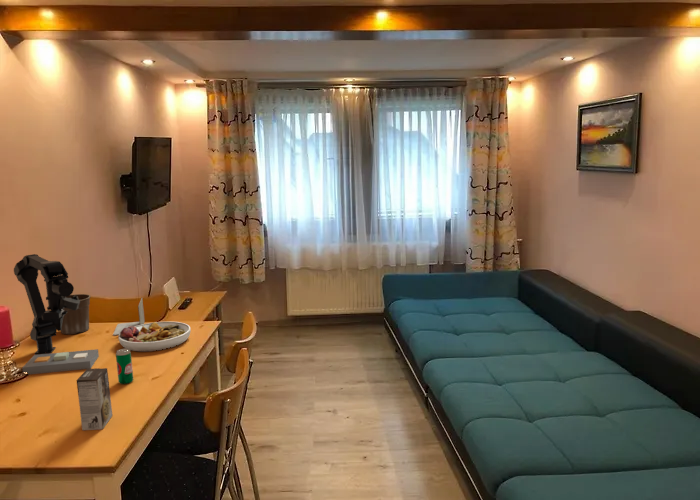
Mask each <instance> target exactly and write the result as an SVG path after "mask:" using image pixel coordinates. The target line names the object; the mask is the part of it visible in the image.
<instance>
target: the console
mask: <svg viewBox="0 0 700 500" xmlns="http://www.w3.org/2000/svg"><path fill="white" fill-rule="evenodd" d="M63 352H64V351H63ZM63 352H61V353H63ZM68 352H69V357H68V359H67V360H57V361H54V356H55V355H56V353H57V352H54V353H53V352H51V353H42V354H34V355H32V357H31V358H30V359H29V360H28V361H27V362H26V363H25V364H24V365H23V366H22V373H23V372H27V373H28V375H38V374H47V373H59V372H68V371H79V370H87V369H92V367H93V366H94V364H95V363H96V361H97V359H99V357H100V354H99V349H86V350H85V349H84V350H75V351H68ZM80 353H88V356H87V357H86V358H79V359H73V357H74V356H75V355H76V354H80ZM47 356H50V359H49V360H48V361H46V362H34V361H35V360H36V359H37V358H38V357H47Z"/></svg>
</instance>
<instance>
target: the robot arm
mask: <svg viewBox="0 0 700 500" xmlns="http://www.w3.org/2000/svg"><path fill="white" fill-rule="evenodd" d="M39 271H40V275H41V276H42V277H43V279H44V280H43V281H44V282H45V287H46V297H45V300H46V301H47V304H48V306H47V307H46V306H45V303H44V302H43V301H44V300H43V298H42V295H41V292H40V289H39V286H38V283H37V279H38V277H39ZM13 274H14V276H15V277H16V278H17V281H18V282H20V284H22V285H23V286H24V289H25V293H26V297H27V299H28V302H29V304H30V308H31V311H32V314H33V320H32V323H31V326H32V329H31V330H30V333H29V337H30V339H31V340H33V341H34V342H36V349H37V350H36V351H35V352H34V355H40V354H51V353H53V351H54V350H56V346H53V338H52V337H55V336H57V331H58V332H61V328H62V322H63V317H64V315H65V314H66V313H67V312H68V311H64V310H63V309H64V308H68V309H72V310H77V309H78V307H79V304H80V300H79V298H78V296H73V297H72V298H66V297H67V296H70V295H73V292H74V289H75V288H74V285H73V284H72V283H71V282H70V281H68V279H69V273H68V271H67V269H66V268H65V266H64V265H63V263H62V262H61V261H58V260H52V261H51V260H48V259H46V258H44V257H41V256H39V255H38V254H35V253H34V254H26V255H24V256H23V258H22V259H20V261H18V262H17V263H16V264H15V265H14V268H13ZM46 309H47V310H46Z"/></svg>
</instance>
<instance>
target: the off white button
mask: <svg viewBox="0 0 700 500" xmlns="http://www.w3.org/2000/svg"><path fill="white" fill-rule="evenodd" d="M87 356H88V353H80V354H76V355H75V356H74V357H73V359H79V358H86V357H87Z"/></svg>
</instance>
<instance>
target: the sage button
mask: <svg viewBox="0 0 700 500" xmlns="http://www.w3.org/2000/svg"><path fill="white" fill-rule="evenodd" d="M69 352H70V351H63V353H62V352H55V353H56V355H55V356H54V361H57V360H67V359H68V357H69Z"/></svg>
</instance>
